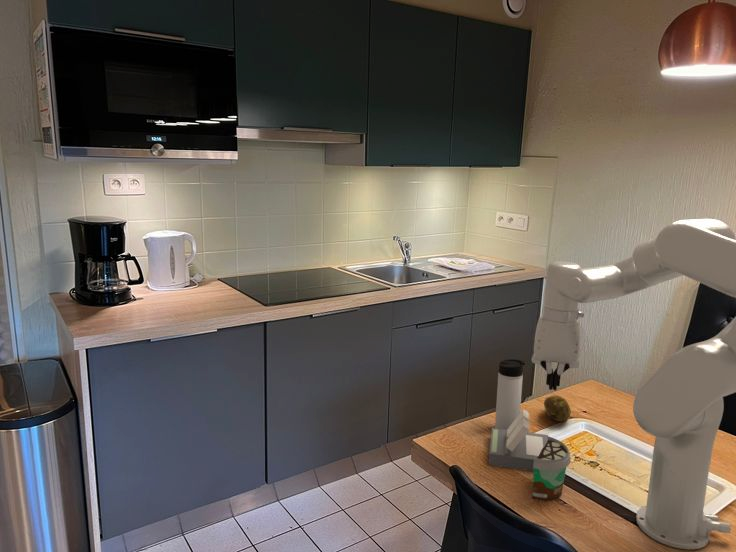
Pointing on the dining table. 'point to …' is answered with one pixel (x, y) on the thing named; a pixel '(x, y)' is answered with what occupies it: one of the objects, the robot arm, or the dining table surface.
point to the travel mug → (508, 392)
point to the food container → (550, 470)
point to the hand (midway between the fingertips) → (552, 387)
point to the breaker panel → (515, 450)
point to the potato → (557, 408)
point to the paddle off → (517, 436)
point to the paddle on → (517, 423)
